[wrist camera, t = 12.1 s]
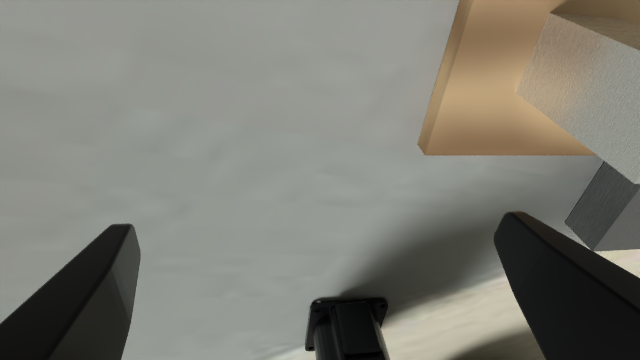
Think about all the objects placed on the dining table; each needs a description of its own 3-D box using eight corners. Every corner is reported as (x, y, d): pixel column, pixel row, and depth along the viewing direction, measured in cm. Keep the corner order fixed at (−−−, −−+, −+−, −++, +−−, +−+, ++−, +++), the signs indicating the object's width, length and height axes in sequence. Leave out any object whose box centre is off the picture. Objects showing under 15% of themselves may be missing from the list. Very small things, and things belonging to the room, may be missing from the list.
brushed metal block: (579, 94, 21) (720, 182, 15) (515, 92, 21) (634, 184, 14) (620, 18, 19) (808, 85, 13) (549, 12, 18) (710, 80, 12)
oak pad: (589, 145, 25) (602, 155, 24) (417, 144, 23) (424, 155, 22) (720, -73, 18) (746, -70, 17) (490, -103, 16) (505, -103, 15)
